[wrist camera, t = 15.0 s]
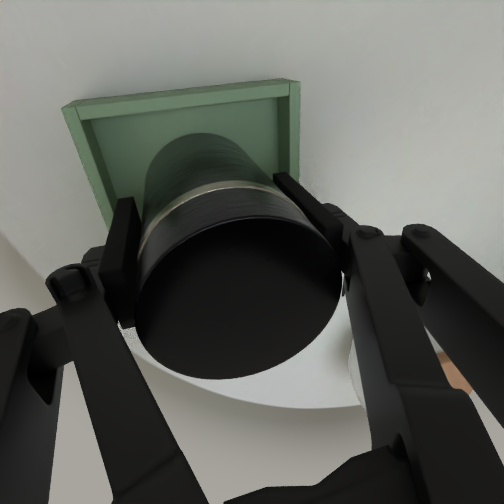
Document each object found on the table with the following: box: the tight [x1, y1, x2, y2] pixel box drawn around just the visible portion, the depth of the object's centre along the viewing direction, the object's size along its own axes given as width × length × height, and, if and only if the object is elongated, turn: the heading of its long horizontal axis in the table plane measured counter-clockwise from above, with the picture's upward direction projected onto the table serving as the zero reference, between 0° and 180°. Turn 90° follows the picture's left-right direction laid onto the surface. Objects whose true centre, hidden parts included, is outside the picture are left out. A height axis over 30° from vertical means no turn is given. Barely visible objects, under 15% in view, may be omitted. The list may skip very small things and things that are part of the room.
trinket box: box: [348, 326, 473, 417], centre depth 30 cm, size 11×11×9 cm
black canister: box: [134, 133, 342, 380], centre depth 15 cm, size 7×7×11 cm
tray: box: [61, 78, 300, 231], centre depth 18 cm, size 11×11×3 cm
